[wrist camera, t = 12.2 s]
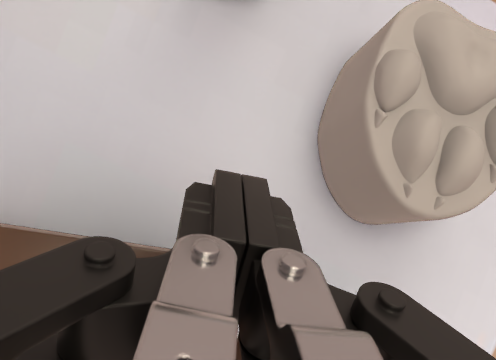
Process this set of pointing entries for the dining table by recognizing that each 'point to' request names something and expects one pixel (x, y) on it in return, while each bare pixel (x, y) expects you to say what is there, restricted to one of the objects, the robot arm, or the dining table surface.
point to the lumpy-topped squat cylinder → (413, 120)
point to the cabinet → (47, 244)
